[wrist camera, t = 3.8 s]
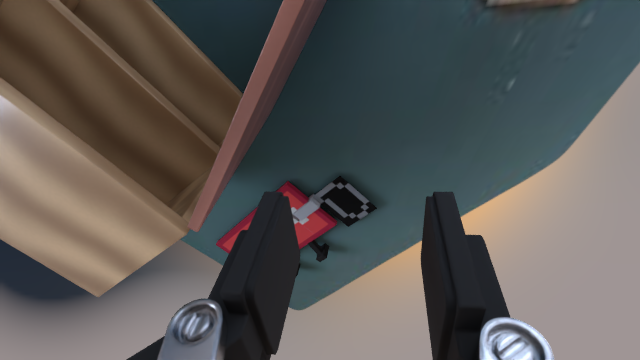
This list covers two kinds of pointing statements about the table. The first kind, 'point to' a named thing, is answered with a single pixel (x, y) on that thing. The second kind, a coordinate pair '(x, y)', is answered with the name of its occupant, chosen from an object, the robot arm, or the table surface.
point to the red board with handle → (313, 214)
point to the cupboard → (103, 133)
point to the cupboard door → (259, 96)
